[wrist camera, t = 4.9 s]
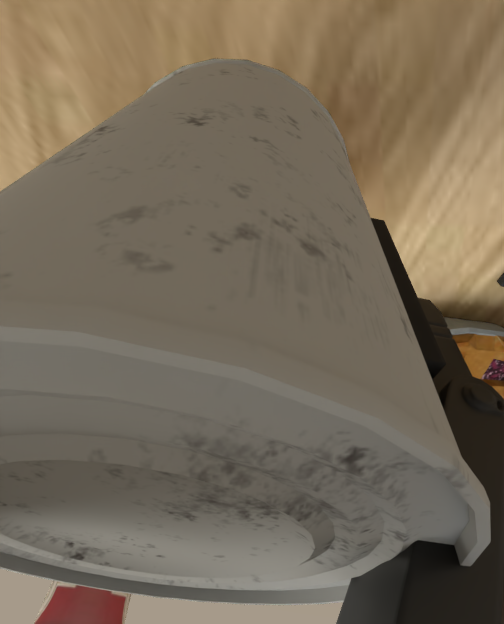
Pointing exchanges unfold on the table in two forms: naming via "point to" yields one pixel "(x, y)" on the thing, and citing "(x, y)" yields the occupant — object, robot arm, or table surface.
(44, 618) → the liquor
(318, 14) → the table surface
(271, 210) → the tin can
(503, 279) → the back mat
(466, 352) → the pie
